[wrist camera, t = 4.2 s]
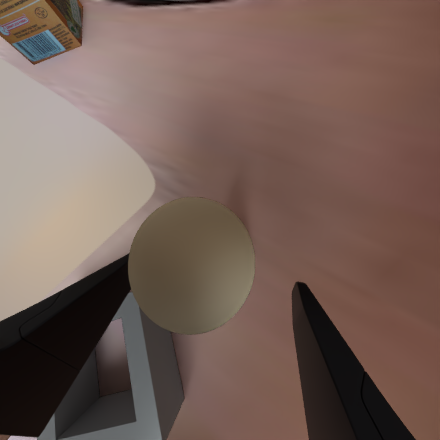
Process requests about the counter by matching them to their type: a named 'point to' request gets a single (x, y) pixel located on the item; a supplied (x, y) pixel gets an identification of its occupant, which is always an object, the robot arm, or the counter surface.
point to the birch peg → (191, 265)
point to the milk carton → (41, 27)
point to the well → (127, 400)
